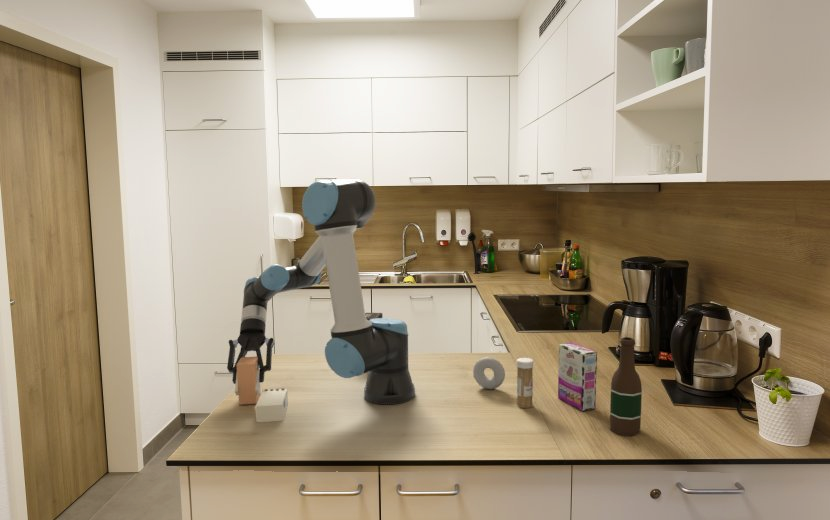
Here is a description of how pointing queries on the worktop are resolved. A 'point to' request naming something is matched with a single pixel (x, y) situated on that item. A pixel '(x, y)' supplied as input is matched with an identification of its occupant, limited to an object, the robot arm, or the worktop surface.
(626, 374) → the beer bottle
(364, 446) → the worktop surface
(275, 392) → the white button box
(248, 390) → the brown box
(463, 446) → the worktop surface
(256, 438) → the worktop surface
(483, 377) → the donut
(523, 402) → the sprinkles bottle
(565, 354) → the candy bar box
